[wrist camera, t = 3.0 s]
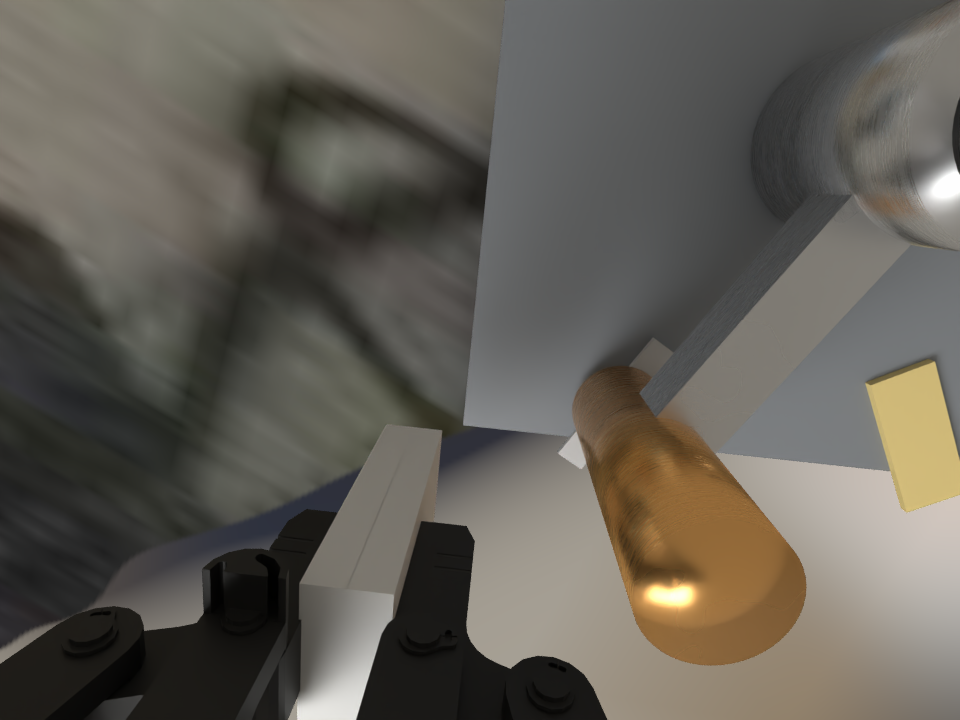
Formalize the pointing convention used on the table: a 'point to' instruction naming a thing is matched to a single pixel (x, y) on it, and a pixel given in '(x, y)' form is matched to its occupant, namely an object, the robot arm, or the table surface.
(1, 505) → the table surface
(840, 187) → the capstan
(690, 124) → the base plate
